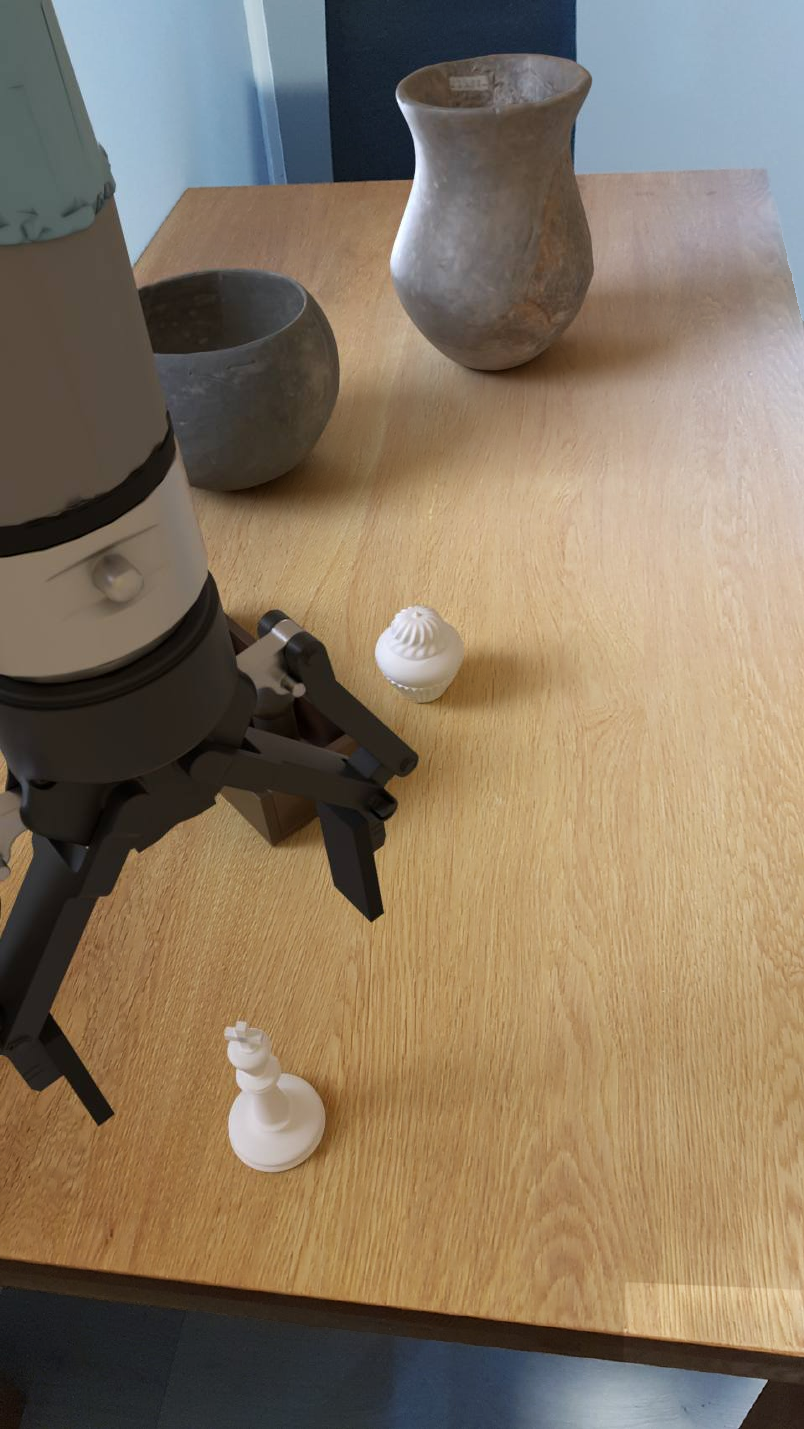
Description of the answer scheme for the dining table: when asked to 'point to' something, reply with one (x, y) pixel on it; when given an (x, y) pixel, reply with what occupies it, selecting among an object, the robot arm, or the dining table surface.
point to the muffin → (420, 653)
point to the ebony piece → (276, 714)
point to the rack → (275, 809)
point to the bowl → (241, 372)
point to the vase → (493, 207)
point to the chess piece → (270, 1106)
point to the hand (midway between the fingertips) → (233, 992)
